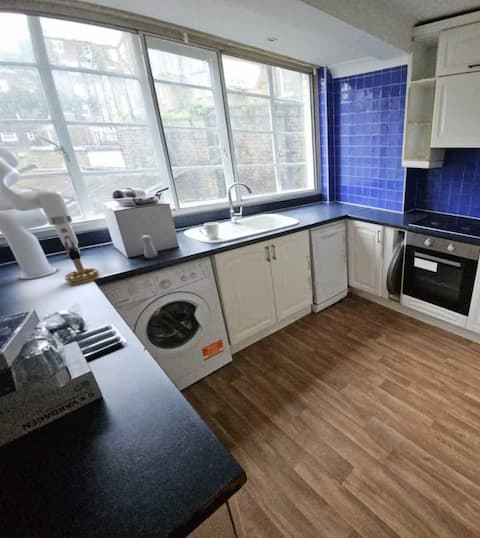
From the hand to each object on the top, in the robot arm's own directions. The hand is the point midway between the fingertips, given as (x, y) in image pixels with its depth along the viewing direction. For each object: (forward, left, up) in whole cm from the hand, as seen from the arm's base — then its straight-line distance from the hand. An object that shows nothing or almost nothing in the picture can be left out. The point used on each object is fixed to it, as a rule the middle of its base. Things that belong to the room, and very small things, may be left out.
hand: (75, 257), depth 137 cm
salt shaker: (-5, +29, -10) cm, 31 cm away
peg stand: (+5, 0, -10) cm, 11 cm away
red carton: (-47, -2, -10) cm, 48 cm away
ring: (+5, 0, -7) cm, 9 cm away
